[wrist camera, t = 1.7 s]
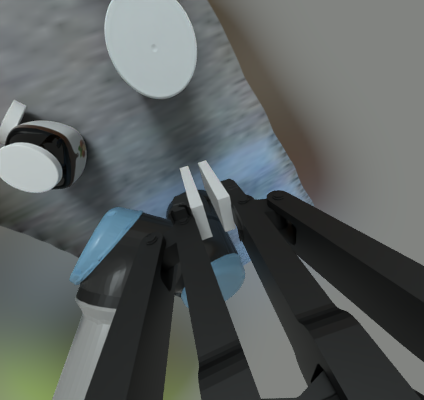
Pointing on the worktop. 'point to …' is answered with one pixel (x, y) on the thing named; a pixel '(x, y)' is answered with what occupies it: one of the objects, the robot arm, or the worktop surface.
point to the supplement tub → (151, 45)
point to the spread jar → (39, 153)
